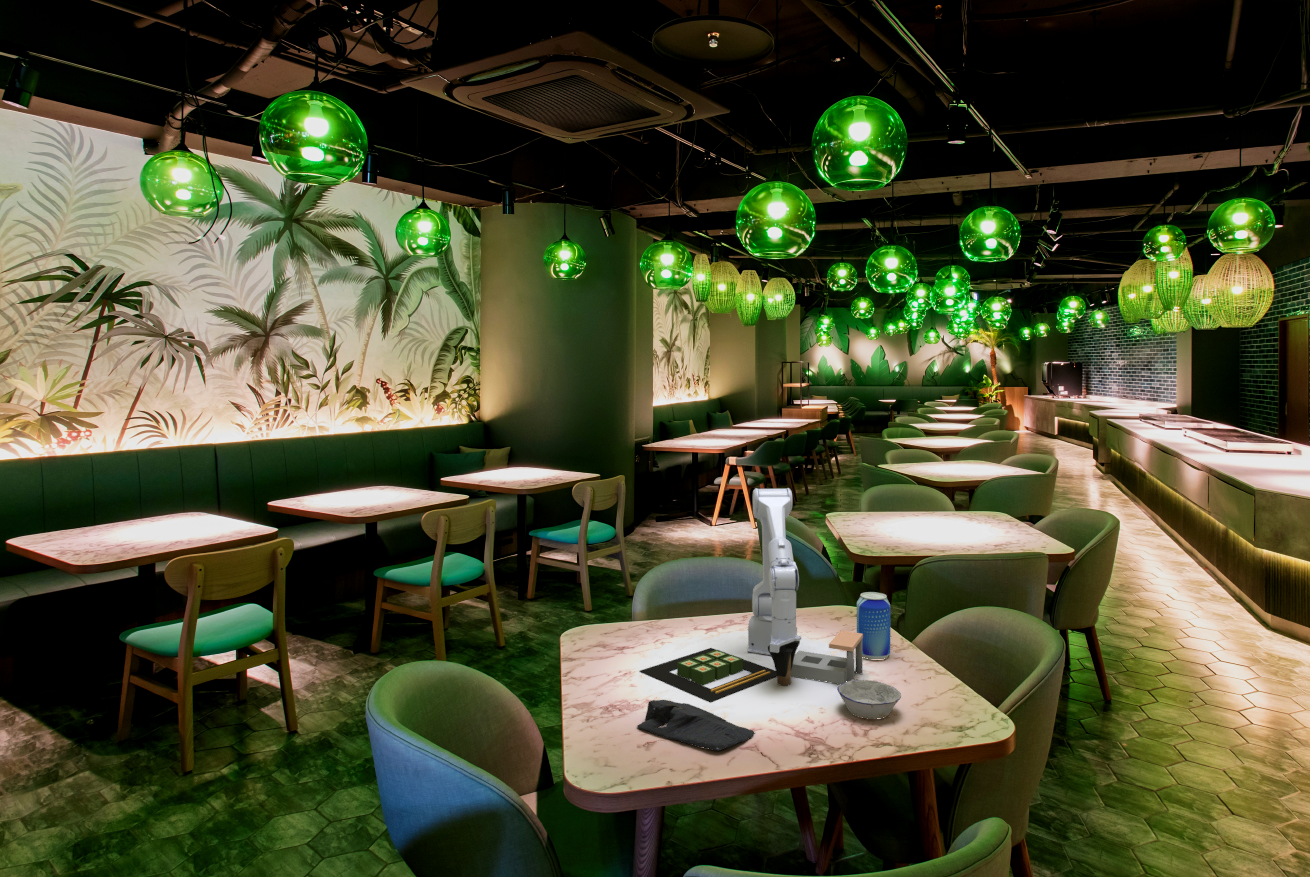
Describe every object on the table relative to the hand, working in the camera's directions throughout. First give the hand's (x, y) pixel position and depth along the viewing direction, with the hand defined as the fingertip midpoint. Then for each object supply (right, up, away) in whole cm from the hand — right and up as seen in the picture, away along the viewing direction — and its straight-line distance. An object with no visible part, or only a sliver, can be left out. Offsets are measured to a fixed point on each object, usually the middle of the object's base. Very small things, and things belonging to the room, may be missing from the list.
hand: (784, 673), depth 172 cm
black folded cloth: (-22, -5, -24) cm, 33 cm away
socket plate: (+10, -2, +6) cm, 12 cm away
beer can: (+26, -1, +18) cm, 32 cm away
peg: (0, -2, 0) cm, 2 cm away
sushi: (-17, -3, +7) cm, 19 cm away
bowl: (+15, -3, -16) cm, 22 cm away
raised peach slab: (+16, -2, +3) cm, 16 cm away
